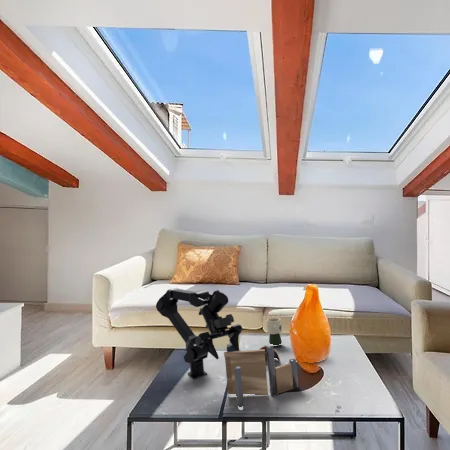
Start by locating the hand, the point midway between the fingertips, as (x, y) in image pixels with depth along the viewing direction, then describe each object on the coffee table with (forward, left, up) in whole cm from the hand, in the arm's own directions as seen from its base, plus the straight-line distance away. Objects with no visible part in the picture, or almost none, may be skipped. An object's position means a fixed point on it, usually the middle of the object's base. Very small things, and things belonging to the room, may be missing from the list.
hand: (228, 355), depth 141 cm
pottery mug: (-14, +26, -13) cm, 33 cm away
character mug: (-30, +41, -13) cm, 52 cm away
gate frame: (+13, +8, -13) cm, 20 cm away
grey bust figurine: (-37, +21, -13) cm, 44 cm away
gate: (+9, +2, -12) cm, 15 cm away
